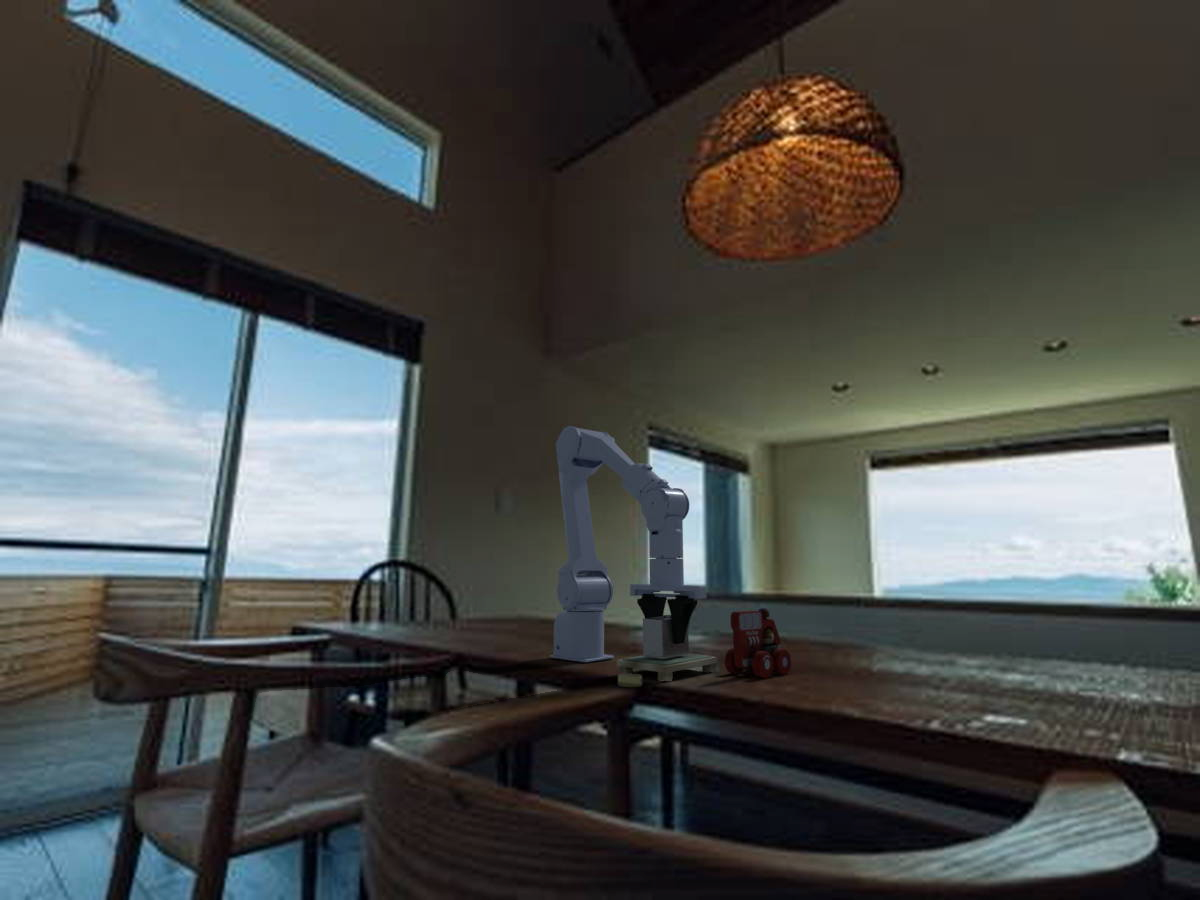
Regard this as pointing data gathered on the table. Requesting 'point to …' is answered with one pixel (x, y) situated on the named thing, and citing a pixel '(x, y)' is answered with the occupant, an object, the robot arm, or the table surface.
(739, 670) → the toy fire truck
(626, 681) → the brass nut
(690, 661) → the stand
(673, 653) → the housing
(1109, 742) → the table surface
